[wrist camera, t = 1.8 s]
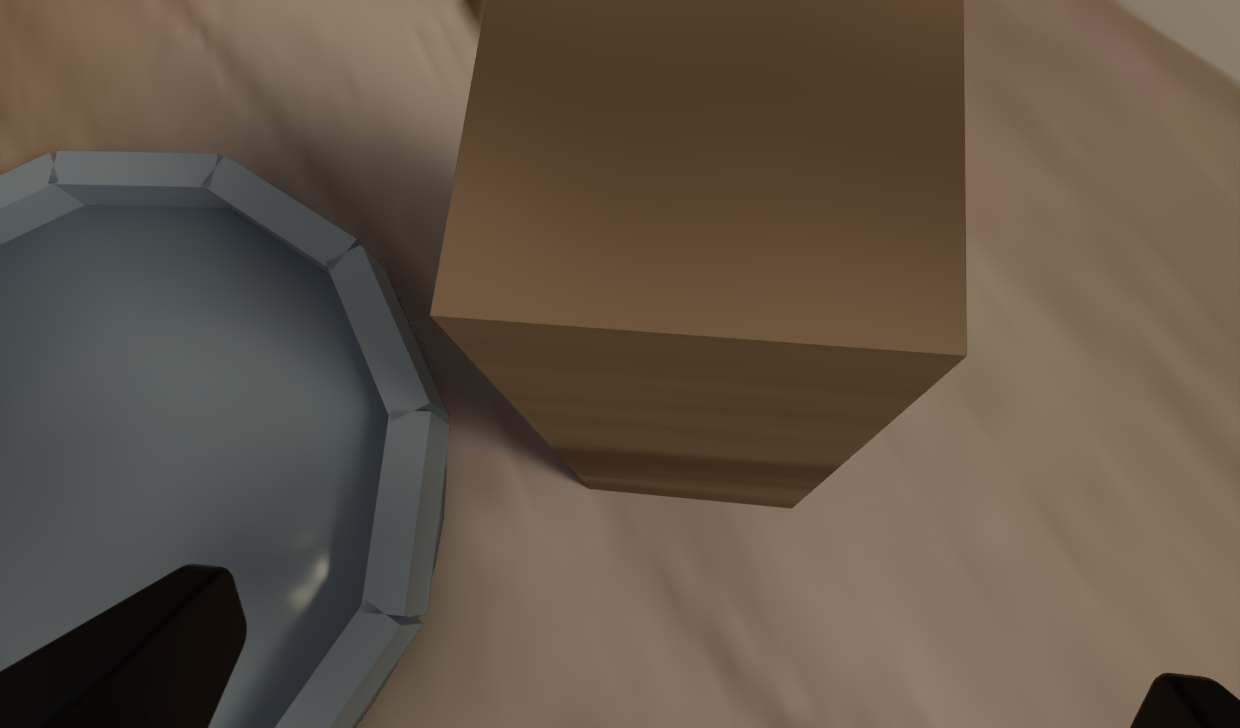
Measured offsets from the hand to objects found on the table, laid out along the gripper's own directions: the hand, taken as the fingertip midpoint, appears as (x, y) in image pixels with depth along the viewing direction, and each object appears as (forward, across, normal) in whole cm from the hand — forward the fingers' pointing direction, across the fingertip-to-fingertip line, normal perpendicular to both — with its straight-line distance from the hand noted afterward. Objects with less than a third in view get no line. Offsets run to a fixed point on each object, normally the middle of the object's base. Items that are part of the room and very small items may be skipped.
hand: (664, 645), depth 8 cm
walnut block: (+12, 0, +5) cm, 13 cm away
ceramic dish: (+9, +15, +7) cm, 19 cm away
